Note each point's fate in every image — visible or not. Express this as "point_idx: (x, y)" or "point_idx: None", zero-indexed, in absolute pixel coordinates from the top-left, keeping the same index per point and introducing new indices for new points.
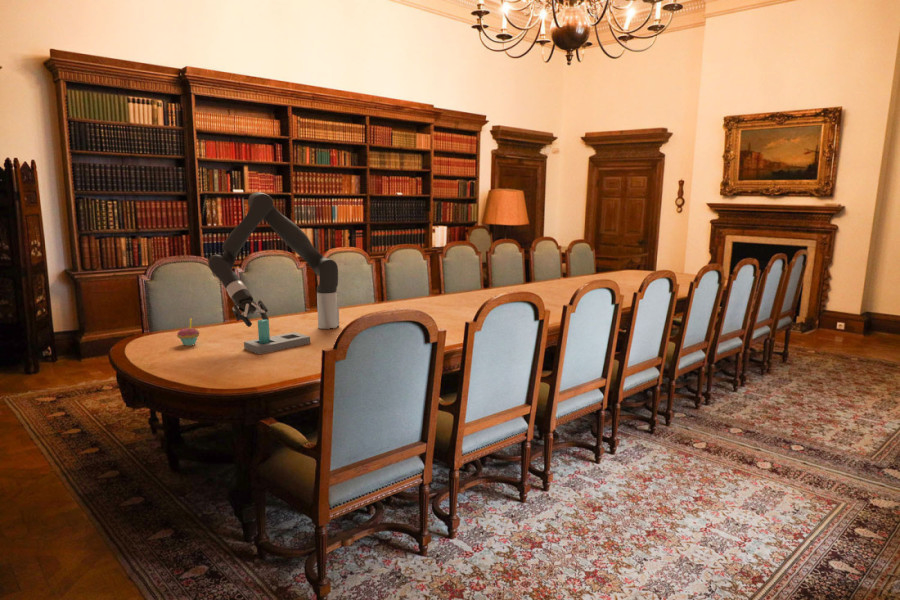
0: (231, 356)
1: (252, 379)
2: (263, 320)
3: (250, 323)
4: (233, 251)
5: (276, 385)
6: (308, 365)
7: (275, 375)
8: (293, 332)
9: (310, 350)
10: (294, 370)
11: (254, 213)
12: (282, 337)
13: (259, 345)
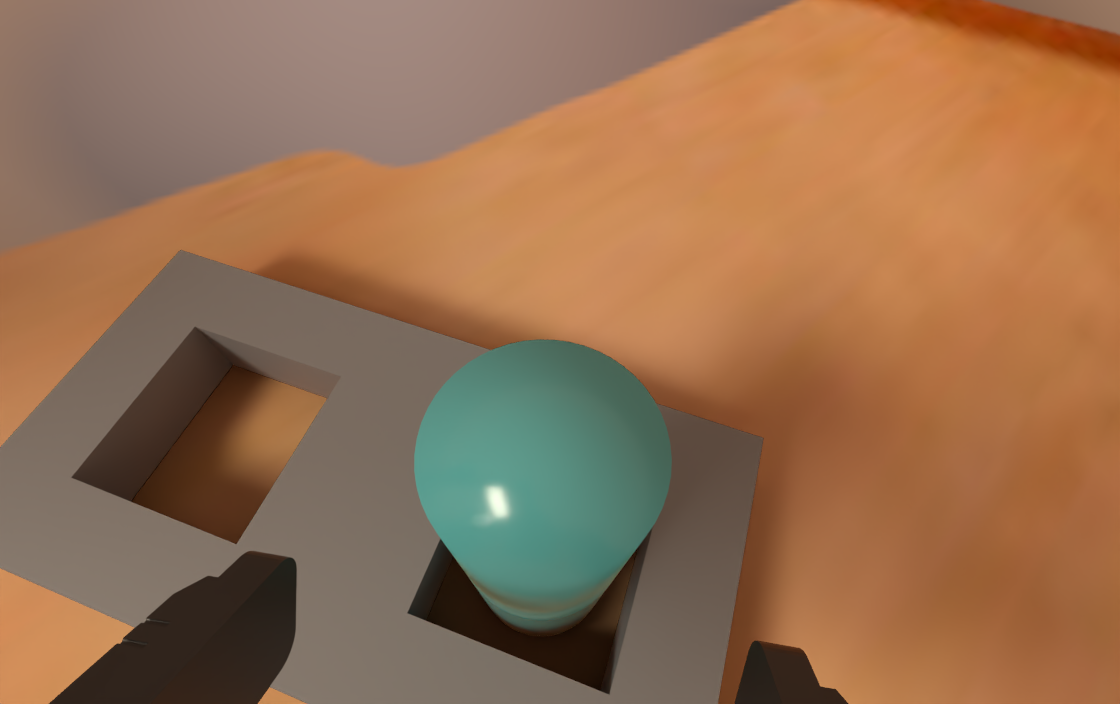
0: (978, 697)
1: (1108, 143)
2: (541, 444)
3: (798, 652)
4: None
5: (1045, 30)
6: (726, 59)
7: (967, 95)
8: None
9: (433, 190)
10: (839, 69)
11: None
12: (212, 535)
13: (708, 477)
